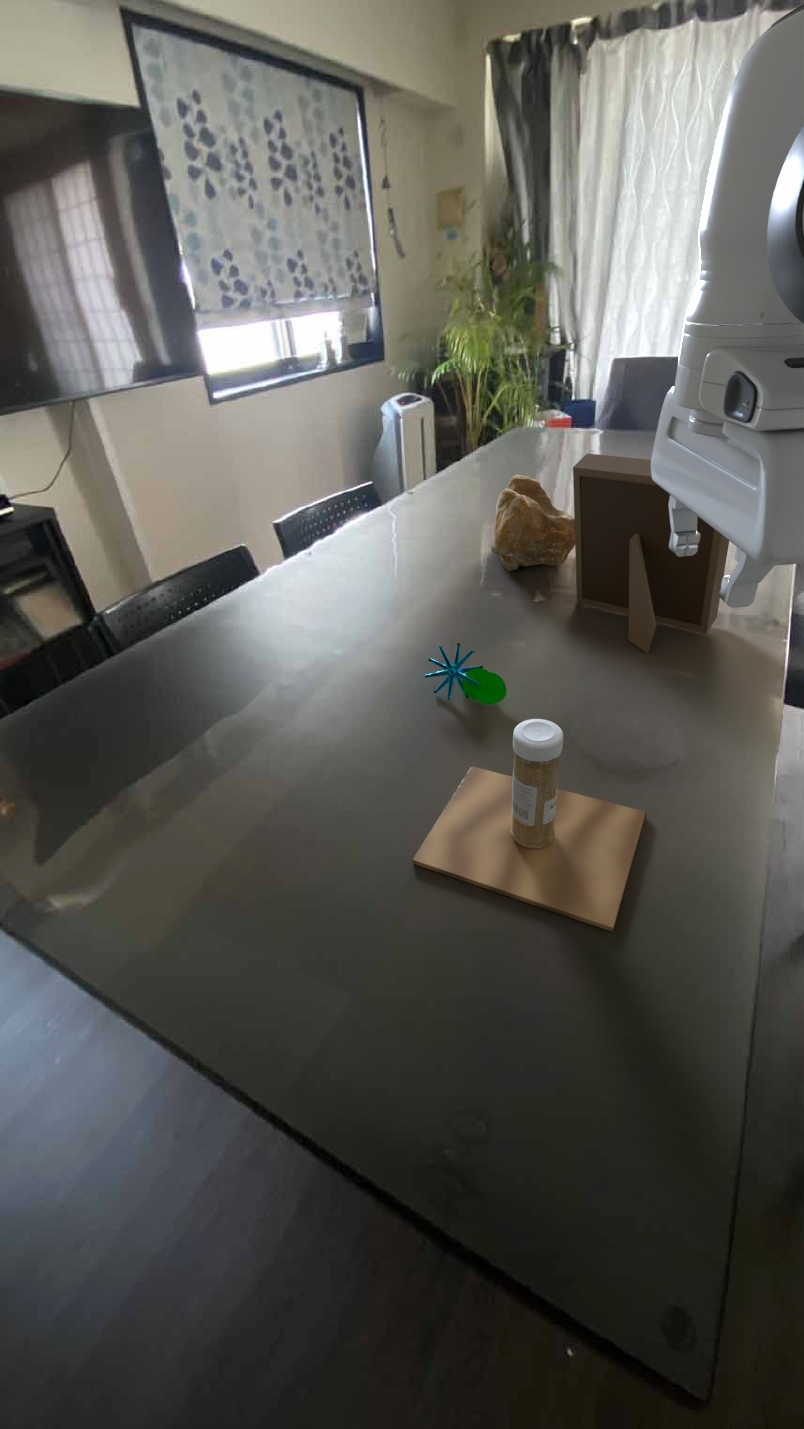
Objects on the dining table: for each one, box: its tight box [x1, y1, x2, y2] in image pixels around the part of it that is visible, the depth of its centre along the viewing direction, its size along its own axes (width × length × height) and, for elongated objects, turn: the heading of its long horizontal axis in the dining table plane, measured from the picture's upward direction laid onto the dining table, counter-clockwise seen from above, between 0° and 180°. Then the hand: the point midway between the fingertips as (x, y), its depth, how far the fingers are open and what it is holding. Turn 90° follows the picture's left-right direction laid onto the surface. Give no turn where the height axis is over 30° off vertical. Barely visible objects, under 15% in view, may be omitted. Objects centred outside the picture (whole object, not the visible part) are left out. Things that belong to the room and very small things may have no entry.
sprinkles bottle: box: [511, 718, 564, 849], centre depth 63 cm, size 5×5×14 cm
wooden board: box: [412, 766, 647, 933], centre depth 67 cm, size 20×16×1 cm
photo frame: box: [572, 453, 730, 653], centre depth 96 cm, size 15×22×25 cm
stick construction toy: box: [423, 642, 507, 706], centre depth 90 cm, size 12×7×8 cm
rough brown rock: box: [491, 474, 575, 572], centre depth 124 cm, size 23×17×15 cm
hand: (706, 576), depth 48 cm, fingers open, 8 cm apart
